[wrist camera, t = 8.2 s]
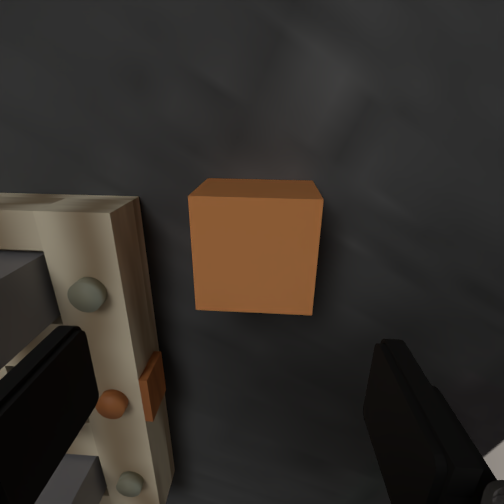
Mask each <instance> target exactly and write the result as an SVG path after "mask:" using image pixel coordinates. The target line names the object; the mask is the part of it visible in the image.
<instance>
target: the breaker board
mask: <svg viewBox="0 0 504 504" xmlns="http://www.w3.org/2000/svg"><path fill="white" fill-rule="evenodd" d="M0 250H4V251H30V252H44V255H45V259H46V262H47V266H48V270H49V274H50V277H51V281H52V285H53V288H54V292H55V296H56V300H57V303H58V307H59V311H60V314H61V315H60V316H59V317H58V318H57V319H56V320H54V321H53V322H52V323H51V324H50V325H49V326H48V327H47V328H46V329H45V330H44V331H42V332H41V333H40V334H39V335H38V336H37V337H36V338H35V339H34V340H33V341H31V342H30V343H29V344H28V345H27V346H26V347H25V348H24V349H23V350H22V351H21V352H19V353H18V354H17V355H16V356H15V357H14V358H13V359H12V360H11V361H10V362H8V363H7V364H6V365H5V366H4V367H3V368H2V369H1V370H0V379H2V378H3V377H4V376H5V375H6V374H7V373H8V372H9V371H10V370H11V369H12V368H13V367H14V366H15V365H17V364H18V363H19V362H20V361H21V360H22V359H23V358H24V357H25V356H26V355H27V354H28V353H29V352H30V351H32V350H33V349H34V348H35V347H36V346H37V345H38V344H39V343H40V342H41V341H42V340H43V339H44V338H46V337H47V336H48V335H49V334H50V333H51V332H52V331H53V330H54V329H55V328H56V327H58V326H60V325H69V326H79V327H80V328H81V330H82V331H85V333H86V336H87V340H88V345H89V350H90V354H91V359H92V363H93V368H94V373H95V377H96V382H97V386H98V391H99V399H98V402H97V405H96V406H95V408H94V410H93V411H92V413H91V414H90V416H89V418H88V419H87V421H86V422H85V424H84V426H83V427H82V429H81V430H80V432H79V434H78V435H77V437H76V438H75V440H74V441H73V443H72V445H71V446H70V448H69V449H68V451H67V453H66V454H77V455H90V456H99V459H100V463H101V466H102V470H103V474H104V477H105V481H106V485H107V488H106V490H105V492H104V494H103V497H102V499H101V501H100V503H99V504H166V500H167V497H168V493H169V490H170V486H171V483H172V479H173V476H174V472H175V467H174V460H173V452H172V445H171V437H170V429H169V422H168V414H167V407H166V399H165V391H166V385H165V377H164V369H163V362H162V354H161V351H159V346H158V338H157V331H156V323H155V316H154V308H153V300H152V293H151V285H150V278H149V270H148V262H147V255H146V247H145V240H144V232H143V225H142V217H141V209H140V202H139V196H101V195H64V194H26V193H0Z"/></svg>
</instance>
